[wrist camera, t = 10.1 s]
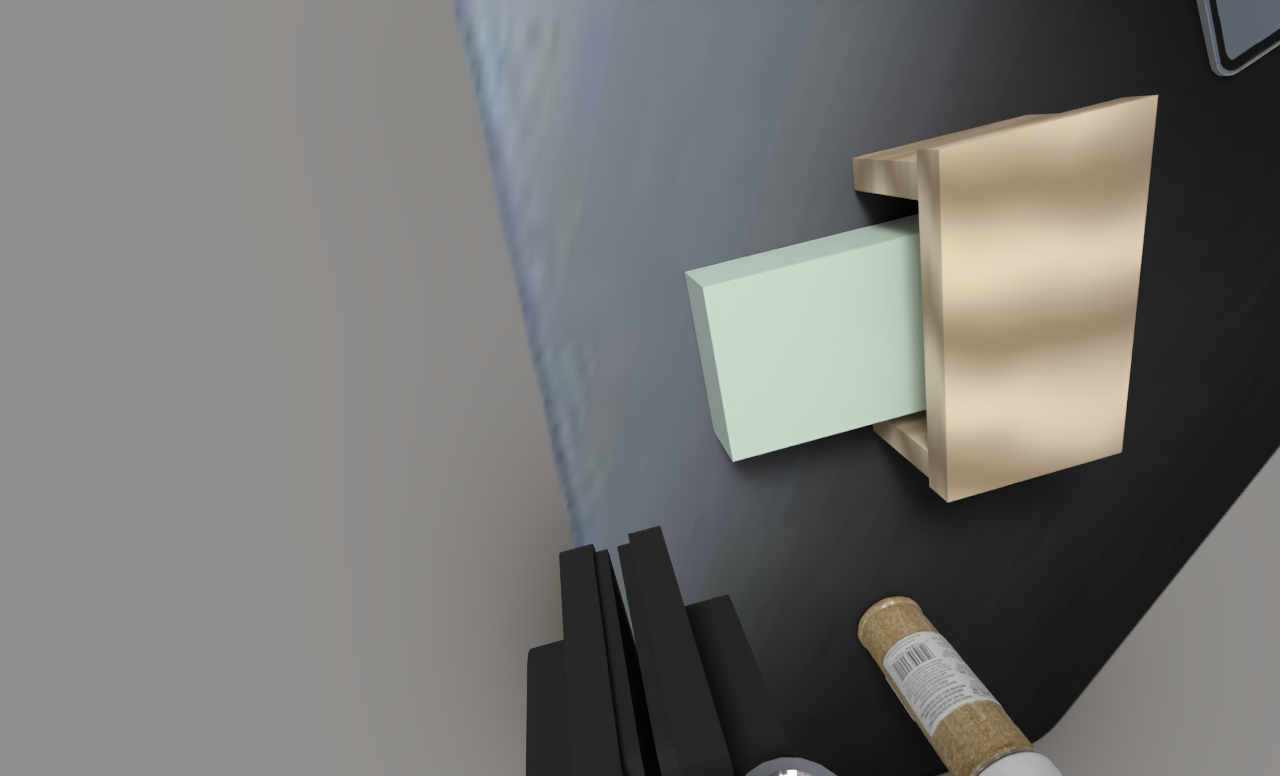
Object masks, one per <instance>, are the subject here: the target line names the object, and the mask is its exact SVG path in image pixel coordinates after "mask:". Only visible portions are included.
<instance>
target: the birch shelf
mask: <svg viewBox="0 0 1280 776" xmlns="http://www.w3.org/2000/svg"><path fill="white" fill-rule="evenodd" d="M1157 101H1158V95H1151V96H1136V97H1124V98H1120V99H1115V100H1111V101H1107V102H1103V103H1099V104H1095V105H1091V106H1087V107H1083V108H1079V109H1075V110H1071V111H1067V112H1063V113H1059V114H1038V115H1024V116H1020V117H1016V118H1012V119H1008V120H1004V121H1000V122H996V123H992V124H988V125H984V126H980V127H976V128H972V129H968V130H964V131H960V132H956V133H952V134H947V135H943V136H939V137H935V138H931V139H927V140H923V141H919V142H915V143H911V144H907V145H903V146H899V147H895V148H891V149H887V150H883V151H879V152H875V153H871V154H867V155H863V156H859V157H855V158H852V163H853V176H854V189H855V190H857V191H864V192H870V193H876V194H882V195H889V196H895V197H901V198H907V199H914V200H918V203H919V229H920V255H921V281H922V307H923V332H924V358H925V384H926V410H922V411H918V412H915V413H911V414H907V415H904V416H900V417H896V418H893V419H889V420H885V421H882V422H878V423H874V424H873V431H875V432H876V433H877V434H878V435H879V436H880V437H882V438H883V439H884V440H885V441H886V442H887V443H889V444H890V445H891V446H892V447H893V448H895V449H896V450H897V451H898V452H899V453H900V454H902V455H903V456H904V457H905V458H906V459H907V460H909V461H910V462H911V463H912V464H913V465H914V466H916V467H917V468H918V469H919V470H920V471H922V472H923V473H924V474H925V475H926V476H927V477H929V486H930V487H931V488H932V489H933V490H934V491H935V492H936V493H938V494H939V495H940V496H941V497H942V498H943V499H944V500H946V501H947V502H952V501H955V500H958V499H962V498H965V497H969V496H972V495H976V494H979V493H983V492H986V491H989V490H993V489H996V488H1000V487H1003V486H1007V485H1010V484H1014V483H1017V482H1021V481H1024V480H1027V479H1031V478H1034V477H1038V476H1041V475H1045V474H1048V473H1052V472H1055V471H1059V470H1062V469H1065V468H1069V467H1072V466H1076V465H1079V464H1083V463H1086V462H1090V461H1093V460H1097V459H1100V458H1103V457H1107V456H1110V455H1114V454H1117V453H1121V452H1122V444H1123V434H1124V424H1125V415H1126V405H1127V395H1128V385H1129V375H1130V366H1131V356H1132V346H1133V336H1134V327H1135V317H1136V307H1137V297H1138V287H1139V278H1140V268H1141V258H1142V248H1143V238H1144V229H1145V219H1146V209H1147V199H1148V189H1149V180H1150V170H1151V160H1152V150H1153V140H1154V131H1155V121H1156V111H1157Z"/></svg>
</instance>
